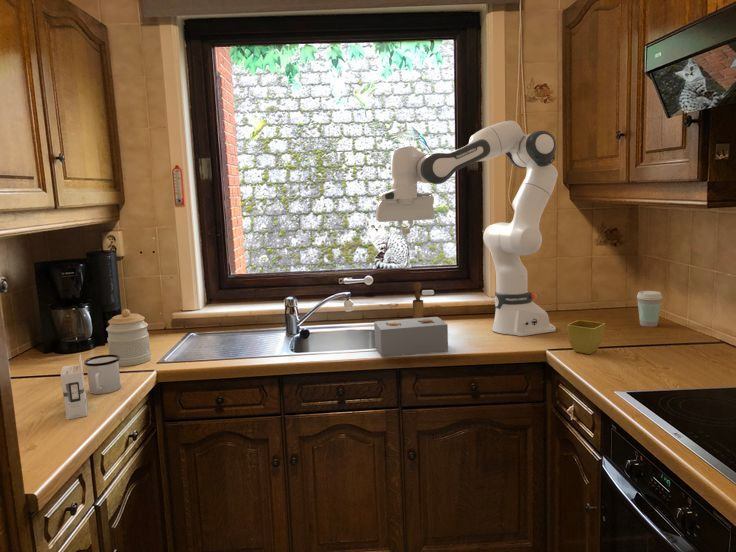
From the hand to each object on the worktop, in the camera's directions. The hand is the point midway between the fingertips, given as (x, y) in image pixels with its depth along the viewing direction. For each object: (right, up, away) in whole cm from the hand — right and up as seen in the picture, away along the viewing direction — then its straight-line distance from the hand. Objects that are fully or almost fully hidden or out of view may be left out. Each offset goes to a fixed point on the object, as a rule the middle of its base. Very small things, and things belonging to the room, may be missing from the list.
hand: (405, 233), depth 215 cm
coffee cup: (+89, -33, +9) cm, 95 cm away
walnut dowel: (+7, -38, -10) cm, 40 cm away
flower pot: (+55, -39, -21) cm, 71 cm away
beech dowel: (-4, -39, -11) cm, 41 cm away
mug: (-88, -48, -40) cm, 108 cm away
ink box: (-88, -50, -57) cm, 116 cm away
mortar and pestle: (+6, -35, +16) cm, 39 cm away
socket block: (+1, -39, -10) cm, 40 cm away
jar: (-92, -43, -11) cm, 102 cm away
